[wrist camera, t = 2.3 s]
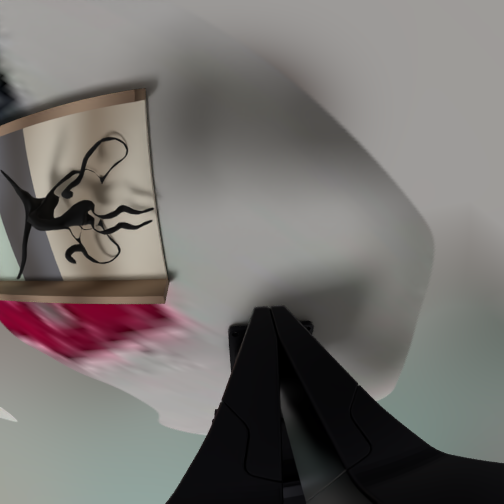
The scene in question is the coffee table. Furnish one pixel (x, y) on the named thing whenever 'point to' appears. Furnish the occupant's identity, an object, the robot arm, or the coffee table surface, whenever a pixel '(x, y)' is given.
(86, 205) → the creature
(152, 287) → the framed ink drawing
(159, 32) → the coffee table surface
